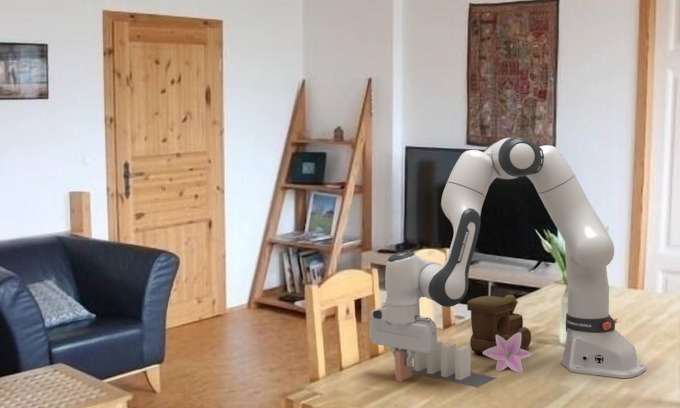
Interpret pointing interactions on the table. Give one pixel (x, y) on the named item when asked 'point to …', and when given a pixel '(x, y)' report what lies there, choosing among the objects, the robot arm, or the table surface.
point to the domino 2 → (420, 361)
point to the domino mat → (472, 380)
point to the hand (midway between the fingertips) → (403, 364)
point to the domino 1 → (402, 365)
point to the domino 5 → (462, 363)
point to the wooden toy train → (495, 322)
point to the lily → (508, 353)
